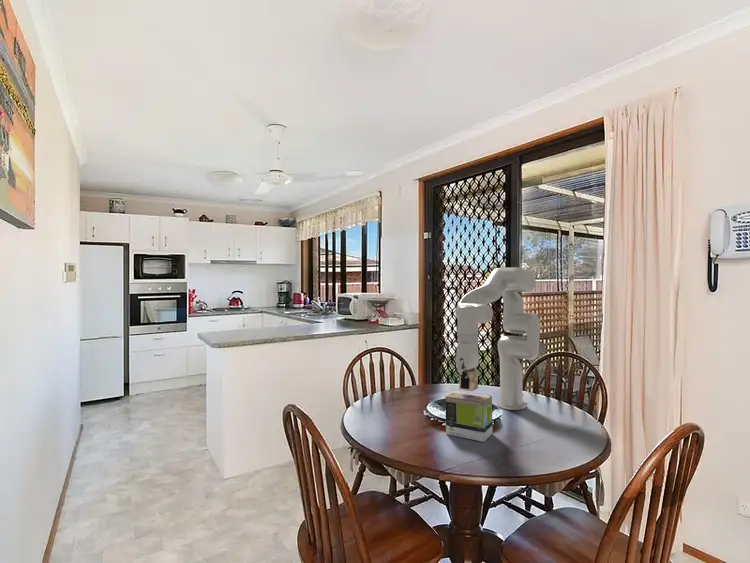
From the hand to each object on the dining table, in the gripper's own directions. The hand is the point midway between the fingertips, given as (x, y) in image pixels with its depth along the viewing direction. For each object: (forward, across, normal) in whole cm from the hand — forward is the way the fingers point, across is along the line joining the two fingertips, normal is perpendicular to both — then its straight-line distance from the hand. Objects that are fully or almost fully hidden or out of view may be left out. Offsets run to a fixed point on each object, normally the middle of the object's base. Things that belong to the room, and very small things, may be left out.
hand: (468, 386), depth 159 cm
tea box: (+19, 0, 0) cm, 19 cm away
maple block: (+1, 0, 0) cm, 1 cm away
